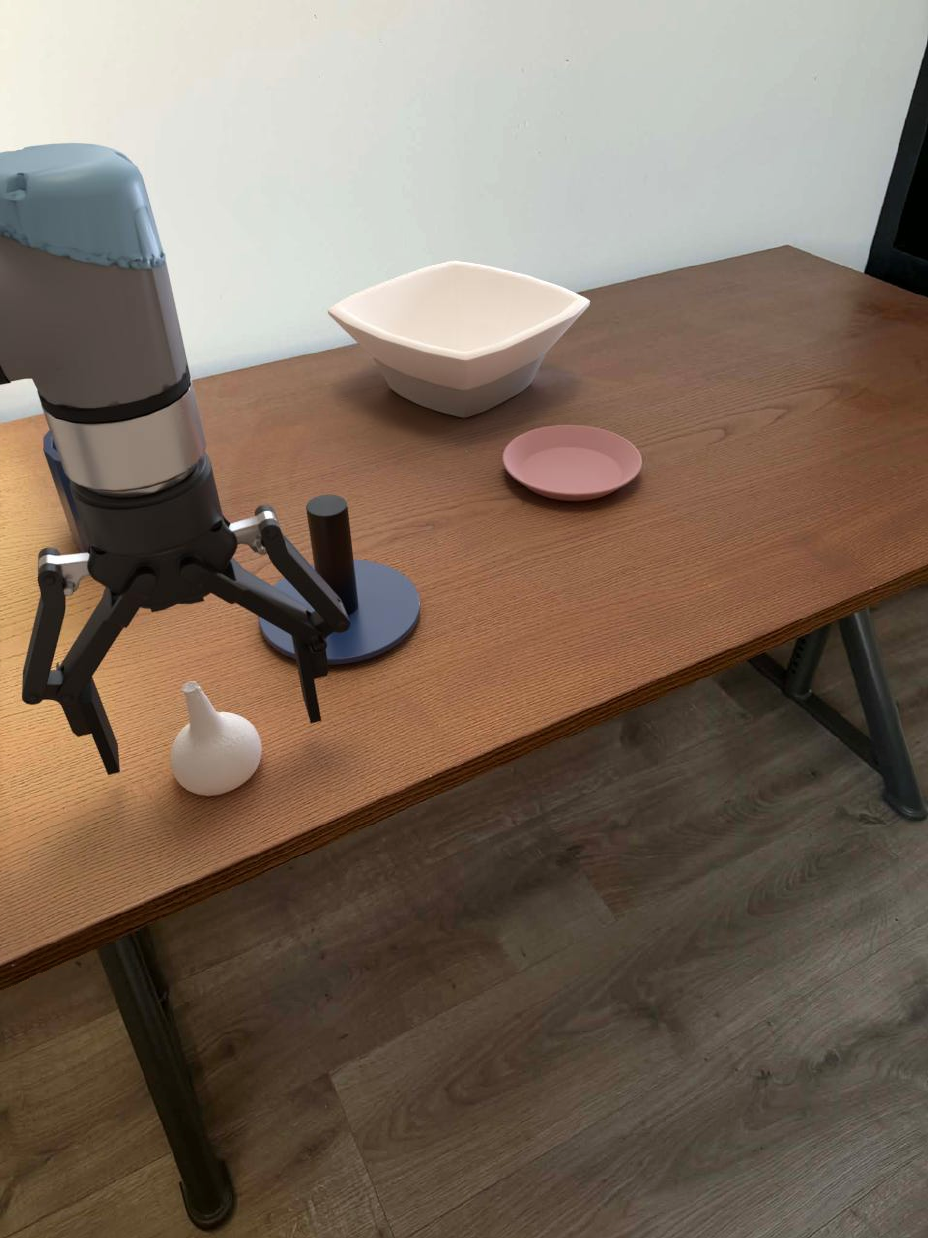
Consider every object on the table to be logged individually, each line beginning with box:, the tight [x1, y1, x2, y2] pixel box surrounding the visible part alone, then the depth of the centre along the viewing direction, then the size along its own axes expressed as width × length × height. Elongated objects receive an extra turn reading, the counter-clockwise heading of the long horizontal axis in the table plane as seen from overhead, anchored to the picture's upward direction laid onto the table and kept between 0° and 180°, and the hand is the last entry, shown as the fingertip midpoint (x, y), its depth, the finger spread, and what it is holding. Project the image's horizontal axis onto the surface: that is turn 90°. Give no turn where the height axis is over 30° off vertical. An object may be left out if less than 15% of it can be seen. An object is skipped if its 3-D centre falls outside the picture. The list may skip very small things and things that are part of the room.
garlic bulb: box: [169, 680, 263, 797], centre depth 64 cm, size 6×6×8 cm
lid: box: [257, 494, 421, 665], centre depth 76 cm, size 14×14×11 cm
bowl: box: [327, 260, 591, 419], centre depth 111 cm, size 24×25×10 cm
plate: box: [501, 424, 643, 502], centre depth 97 cm, size 14×14×2 cm
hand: (215, 734), depth 64 cm, fingers open, 13 cm apart
